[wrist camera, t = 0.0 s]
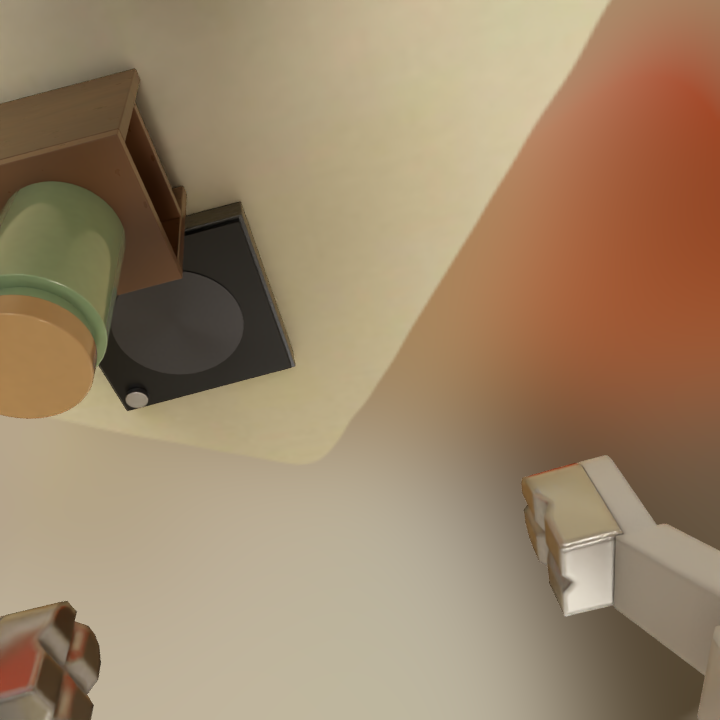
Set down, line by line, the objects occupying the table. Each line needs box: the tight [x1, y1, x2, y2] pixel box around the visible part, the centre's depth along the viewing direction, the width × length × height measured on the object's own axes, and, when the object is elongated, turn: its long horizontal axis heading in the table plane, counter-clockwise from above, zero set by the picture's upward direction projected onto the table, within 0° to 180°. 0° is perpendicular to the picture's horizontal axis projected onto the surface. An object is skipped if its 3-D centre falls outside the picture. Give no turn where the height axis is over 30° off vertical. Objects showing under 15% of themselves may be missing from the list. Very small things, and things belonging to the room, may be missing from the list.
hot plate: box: [99, 202, 295, 411], centre depth 52 cm, size 15×15×3 cm
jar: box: [0, 181, 126, 419], centre depth 32 cm, size 6×6×11 cm
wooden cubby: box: [0, 69, 187, 295], centre depth 41 cm, size 9×10×11 cm
